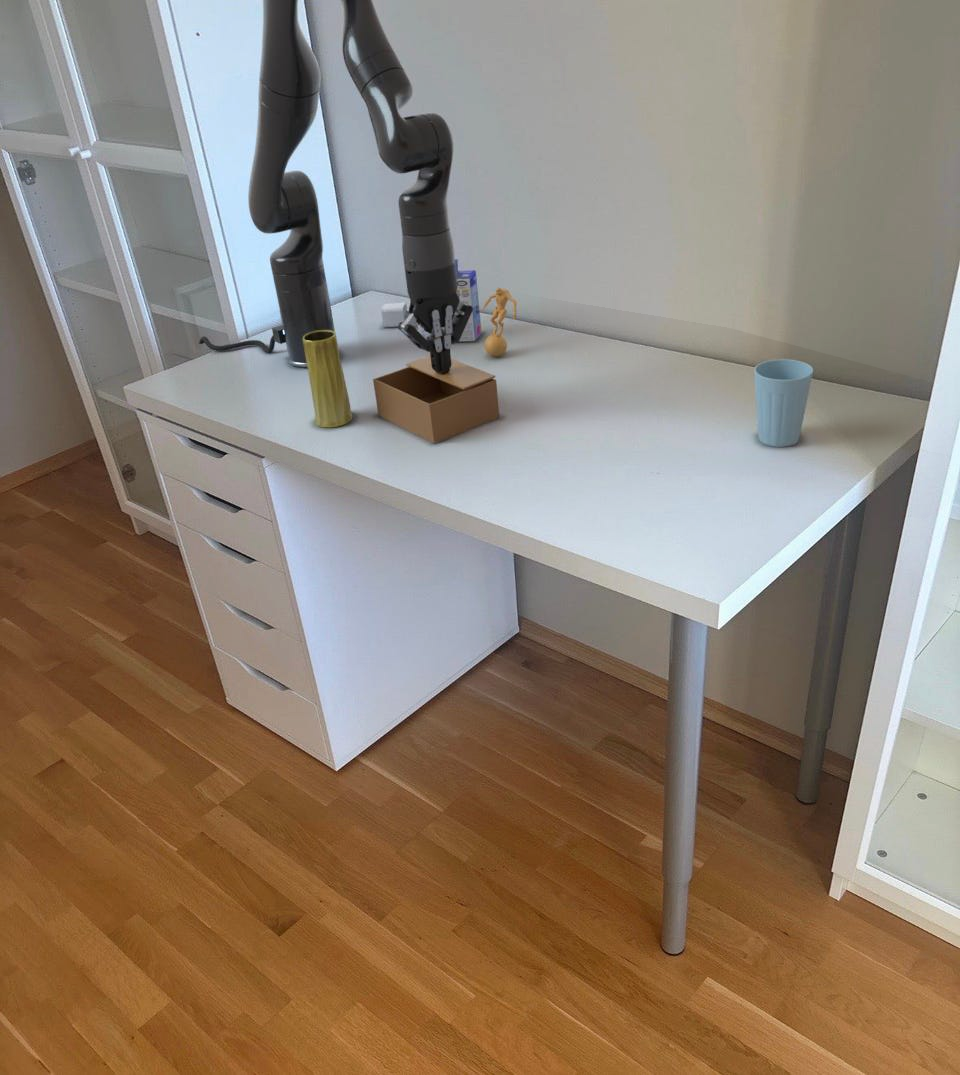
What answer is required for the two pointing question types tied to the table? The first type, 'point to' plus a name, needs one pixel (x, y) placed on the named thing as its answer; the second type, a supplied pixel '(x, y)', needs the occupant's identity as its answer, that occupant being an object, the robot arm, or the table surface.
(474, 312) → the ink cartridge box
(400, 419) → the carton
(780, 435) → the cup
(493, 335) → the figurine
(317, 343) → the vase
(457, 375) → the flap
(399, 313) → the usb wall charger
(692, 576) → the table surface
